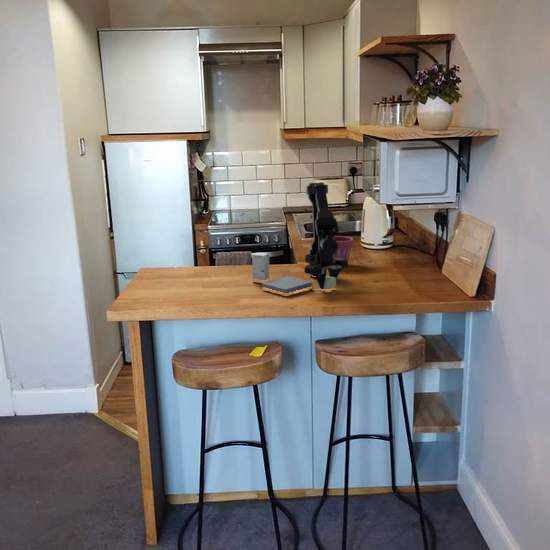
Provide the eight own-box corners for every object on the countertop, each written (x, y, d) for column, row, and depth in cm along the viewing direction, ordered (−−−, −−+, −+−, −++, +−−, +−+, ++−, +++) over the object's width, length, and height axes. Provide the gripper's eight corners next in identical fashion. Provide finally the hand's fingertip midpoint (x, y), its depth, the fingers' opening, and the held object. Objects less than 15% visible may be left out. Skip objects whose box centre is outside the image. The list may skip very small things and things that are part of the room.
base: (288, 283, 237) (288, 276, 237) (312, 289, 227) (312, 282, 226) (262, 290, 228) (261, 283, 228) (286, 297, 218) (285, 289, 217)
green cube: (326, 287, 229) (326, 275, 227) (336, 290, 225) (335, 277, 224) (317, 290, 226) (317, 278, 224) (327, 292, 222) (326, 280, 221)
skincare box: (252, 282, 240) (250, 254, 237) (258, 280, 244) (256, 252, 241) (265, 284, 237) (263, 255, 234) (270, 281, 241) (269, 253, 238)
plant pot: (352, 262, 269) (352, 235, 266) (353, 269, 256) (353, 241, 252) (322, 262, 271) (321, 236, 267) (321, 270, 257) (320, 241, 254)
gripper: (327, 242, 233) (328, 279, 237) (293, 249, 221) (295, 288, 225) (348, 245, 225) (348, 284, 229) (314, 253, 213) (315, 294, 217)
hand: (326, 287), depth 225 cm, fingers open, 5 cm apart
